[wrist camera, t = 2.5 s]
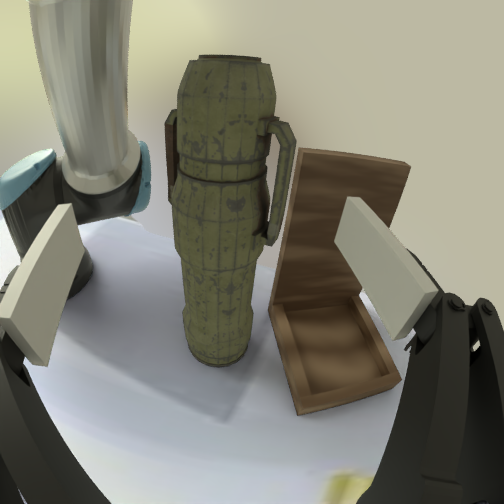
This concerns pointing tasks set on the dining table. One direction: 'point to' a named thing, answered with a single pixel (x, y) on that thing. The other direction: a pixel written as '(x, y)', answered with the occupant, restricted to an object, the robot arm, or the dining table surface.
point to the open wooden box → (330, 282)
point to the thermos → (224, 195)
